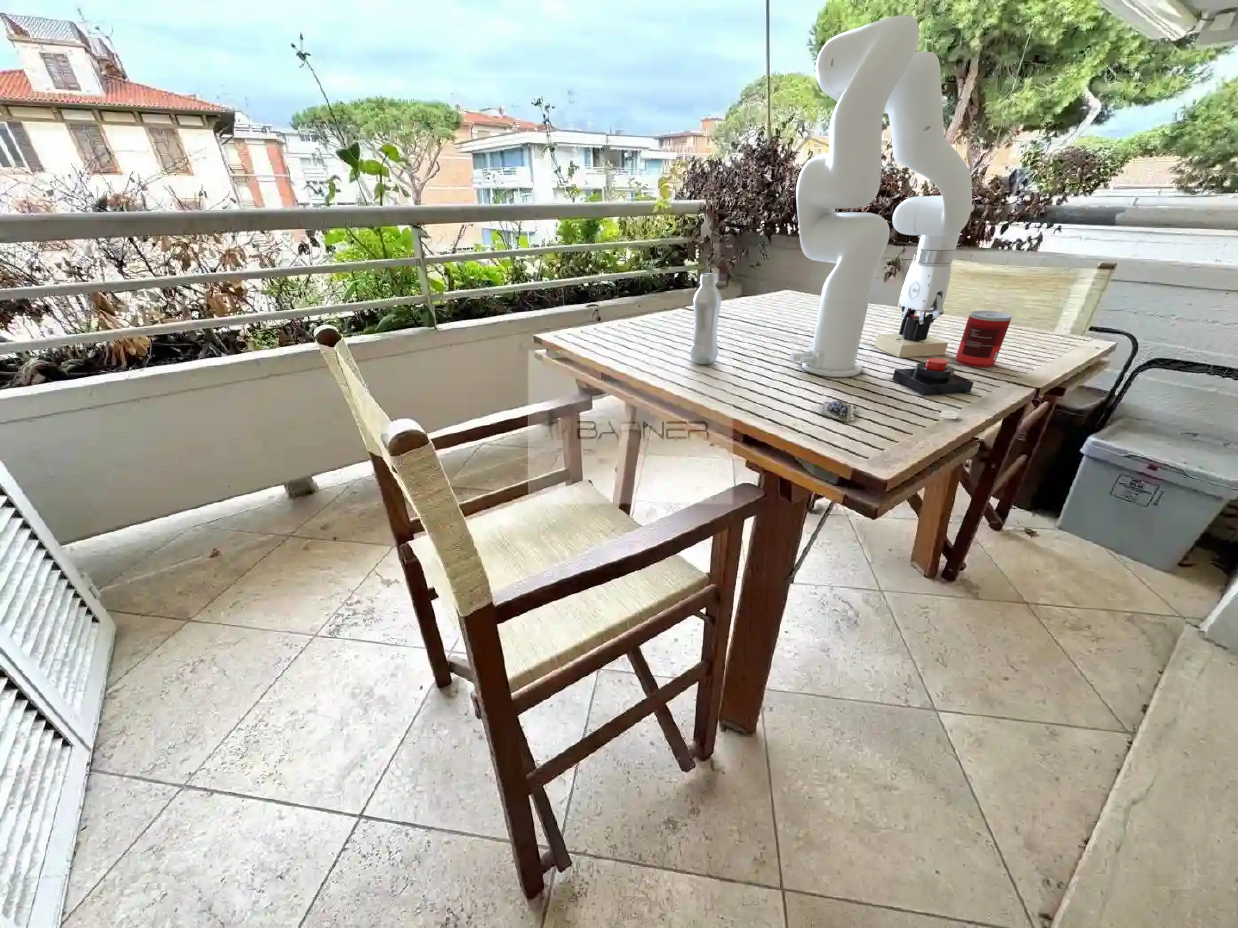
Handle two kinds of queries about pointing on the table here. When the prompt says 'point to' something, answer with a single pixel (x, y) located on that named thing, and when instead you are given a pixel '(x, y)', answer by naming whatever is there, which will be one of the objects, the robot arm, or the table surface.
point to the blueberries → (839, 410)
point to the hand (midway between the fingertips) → (912, 336)
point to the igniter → (932, 380)
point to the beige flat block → (910, 346)
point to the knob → (910, 327)
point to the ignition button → (936, 364)
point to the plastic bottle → (706, 320)
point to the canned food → (982, 338)
